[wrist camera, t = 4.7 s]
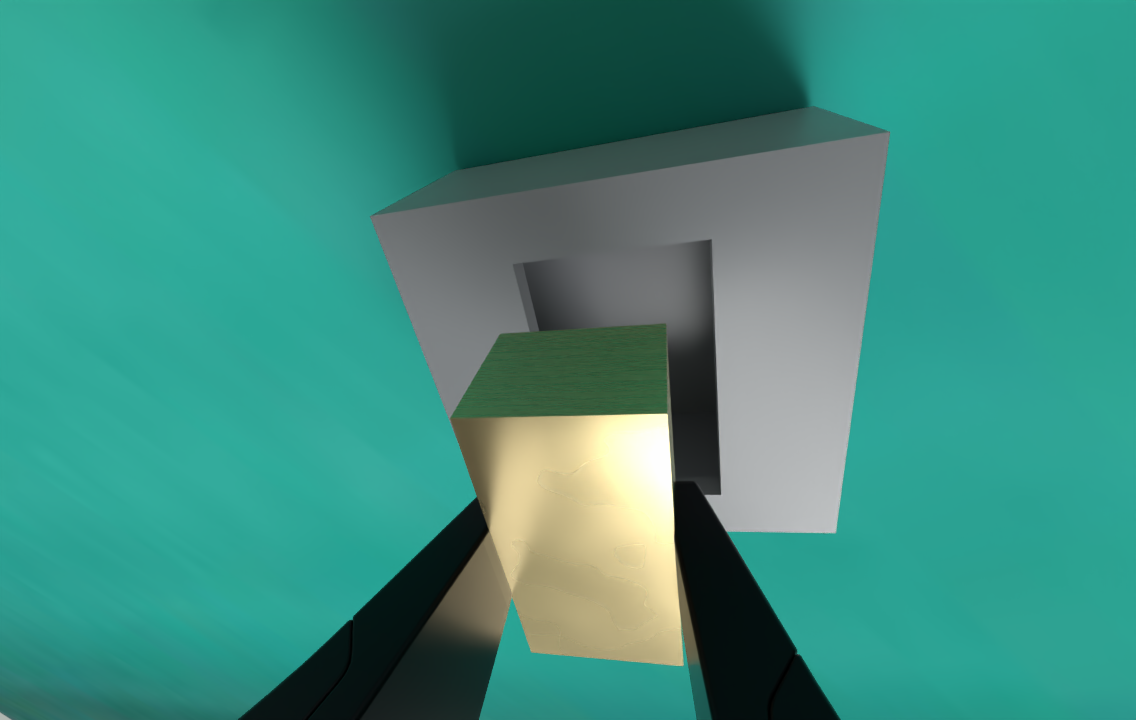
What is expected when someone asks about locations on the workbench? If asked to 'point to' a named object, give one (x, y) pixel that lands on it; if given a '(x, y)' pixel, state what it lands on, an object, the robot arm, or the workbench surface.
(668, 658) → the tall cream wooden block
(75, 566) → the workbench surface
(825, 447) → the slot box
